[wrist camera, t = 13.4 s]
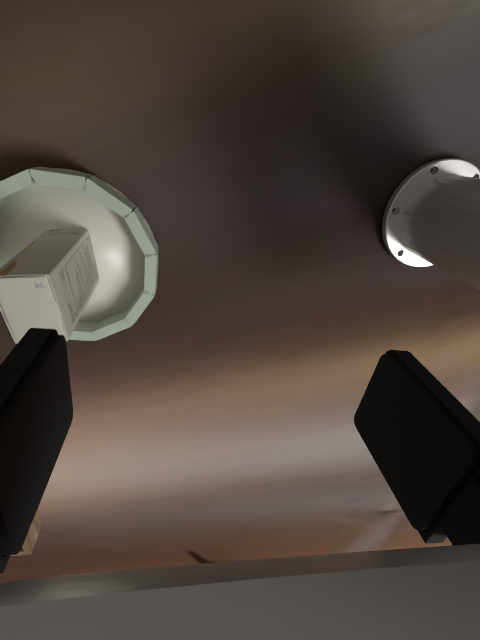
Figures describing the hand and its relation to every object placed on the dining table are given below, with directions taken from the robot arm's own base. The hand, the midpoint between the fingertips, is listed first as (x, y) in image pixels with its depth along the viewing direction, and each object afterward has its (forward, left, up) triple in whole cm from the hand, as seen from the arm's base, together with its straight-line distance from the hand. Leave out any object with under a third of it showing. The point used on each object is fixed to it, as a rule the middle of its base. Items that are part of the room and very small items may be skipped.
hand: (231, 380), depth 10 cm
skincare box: (+13, +8, -30) cm, 33 cm away
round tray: (+13, +8, -30) cm, 34 cm away
